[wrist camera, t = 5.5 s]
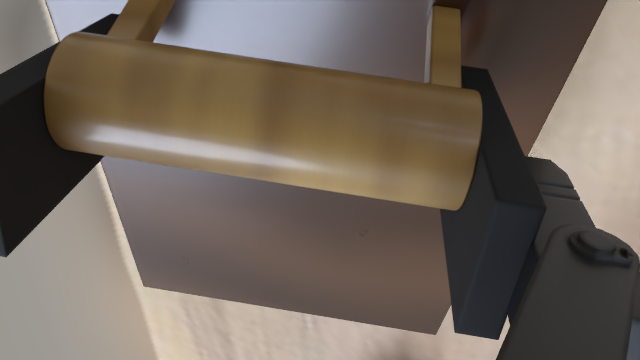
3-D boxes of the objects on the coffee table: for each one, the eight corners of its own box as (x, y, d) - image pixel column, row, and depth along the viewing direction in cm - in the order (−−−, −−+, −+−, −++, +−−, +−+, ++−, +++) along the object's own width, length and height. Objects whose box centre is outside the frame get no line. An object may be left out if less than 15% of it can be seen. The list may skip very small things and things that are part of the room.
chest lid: (12, -156, 13) (-180, 0, 9) (629, -73, 13) (710, 133, 9) (148, 272, 28) (98, 403, 24) (436, 319, 28) (433, 462, 24)
